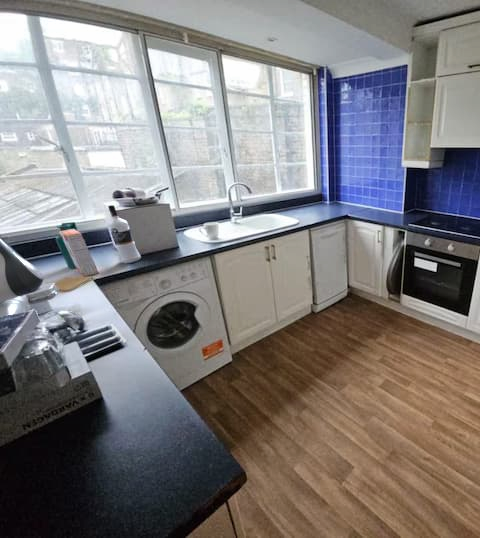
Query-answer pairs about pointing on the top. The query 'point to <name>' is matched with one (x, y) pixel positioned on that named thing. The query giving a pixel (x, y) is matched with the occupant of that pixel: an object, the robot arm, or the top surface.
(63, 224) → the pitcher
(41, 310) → the syrup box
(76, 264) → the cracker box
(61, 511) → the top surface
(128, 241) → the vodka
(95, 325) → the top surface
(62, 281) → the cork mat
